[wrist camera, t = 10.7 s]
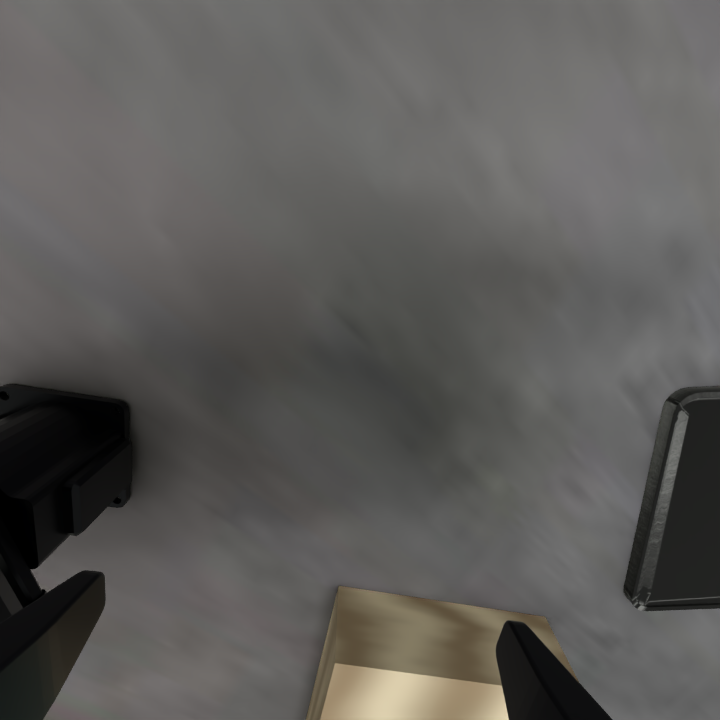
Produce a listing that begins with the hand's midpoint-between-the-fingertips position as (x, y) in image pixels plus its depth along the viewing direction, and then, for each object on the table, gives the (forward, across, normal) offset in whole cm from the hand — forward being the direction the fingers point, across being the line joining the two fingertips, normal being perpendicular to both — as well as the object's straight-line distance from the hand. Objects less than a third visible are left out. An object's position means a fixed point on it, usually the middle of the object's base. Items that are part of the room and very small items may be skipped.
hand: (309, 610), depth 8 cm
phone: (+13, -23, +3) cm, 26 cm away
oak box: (+12, -9, +20) cm, 25 cm away
